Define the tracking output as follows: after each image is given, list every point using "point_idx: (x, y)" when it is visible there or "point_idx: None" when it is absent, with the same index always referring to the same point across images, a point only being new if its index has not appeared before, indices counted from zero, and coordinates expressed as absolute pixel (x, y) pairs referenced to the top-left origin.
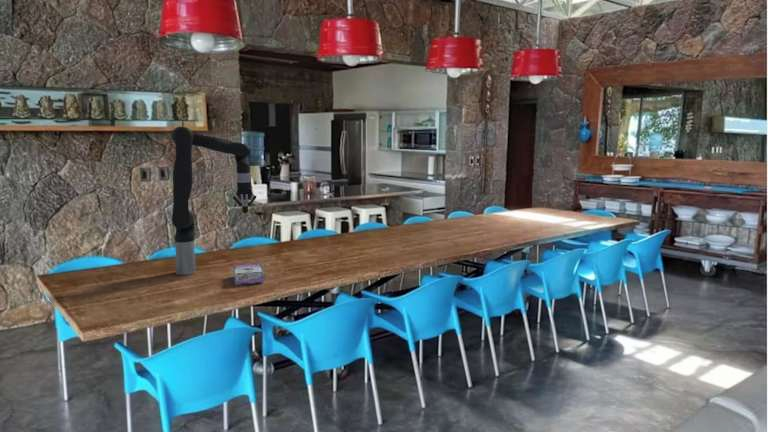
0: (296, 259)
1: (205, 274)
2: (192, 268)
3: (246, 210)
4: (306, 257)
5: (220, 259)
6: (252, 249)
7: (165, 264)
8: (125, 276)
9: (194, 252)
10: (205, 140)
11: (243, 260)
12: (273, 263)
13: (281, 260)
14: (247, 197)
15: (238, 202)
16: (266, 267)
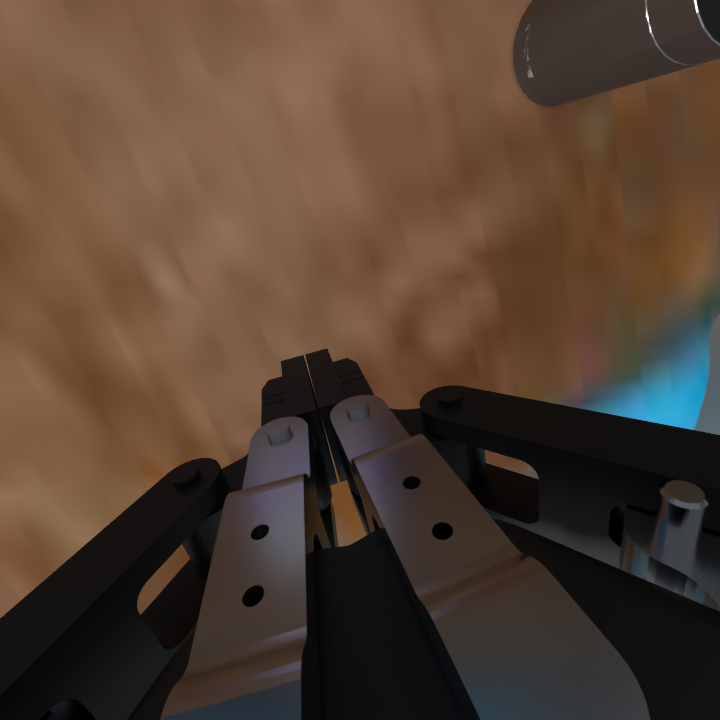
0: (43, 405)
1: (450, 13)
2: (541, 4)
3: (285, 386)
4: (5, 453)
5: (454, 351)
6: (365, 532)
7: (669, 236)
8: None
9: (601, 12)
10: None
11: (338, 347)
12: (141, 304)
13: (126, 373)
14: (203, 655)
15: (507, 417)
16: (139, 205)
